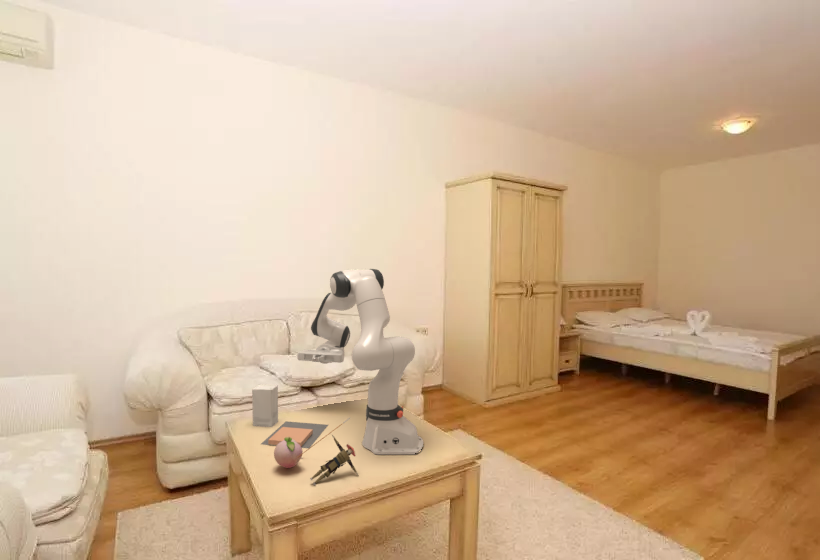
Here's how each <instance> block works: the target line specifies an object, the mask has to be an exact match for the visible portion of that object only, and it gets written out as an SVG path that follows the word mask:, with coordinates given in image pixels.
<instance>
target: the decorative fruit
mask: <svg viewBox="0 0 820 560" xmlns="http://www.w3.org/2000/svg"><path fill="white" fill-rule="evenodd" d="M302 453H303V454H304V451H303V448H301V446H300V445H299V444H298V443H297V442H296V441H295V440H293V439H292V438H291V437H285V438H284V440H283V441H282V442H280V443H279V444H278V445H277V446H275V447H274V452H273V457H274V461H275V462H276V463H277V464H278V465H279V466H281V467H283V468H285V469H286V468H287V469H291V468H293V467H295V466H296V465H297V464H298V463H299V462H300V461H301V459H302V456H303V454H302ZM301 454H302V455H301ZM300 455H301V456H300ZM298 456H299V457H298ZM297 457H298V458H297Z"/></svg>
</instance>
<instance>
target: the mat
mask: <svg viewBox="0 0 820 560" xmlns="http://www.w3.org/2000/svg"><path fill="white" fill-rule="evenodd" d="M328 426H329V424H324V423H322V424H321V423H312V422H298V421H285V422H283V424H281V425H280V426H279V427H278V428H277V429H275V431H273V432H272V433H271V434H270V435H269V436H268V437H266V439H265V440H264V441H262V442H261V443H260V445H263V446H264V445H265V446H266V445H267V446H270V445H269V444H268V440H269V439H270V438H271V437H272V436H273V435H274V434H275V433H276V432H278V431H279V430H280V429H281V428H282V427H290V428H302V429H313V434H312V435H311V436H310V437H309V438H308V440H307V441H306V442H305V443H304V444H303V445H302V446H301V448H302V449H309V448H310V447H311V448H312V446H313V445H314V444H315V442H317V440H318V438H320V436H321V434H322V433H324V431H325V430H326V429H327V428H328ZM273 446H275V447H276V445H273ZM311 448H310V449H311Z"/></svg>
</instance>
